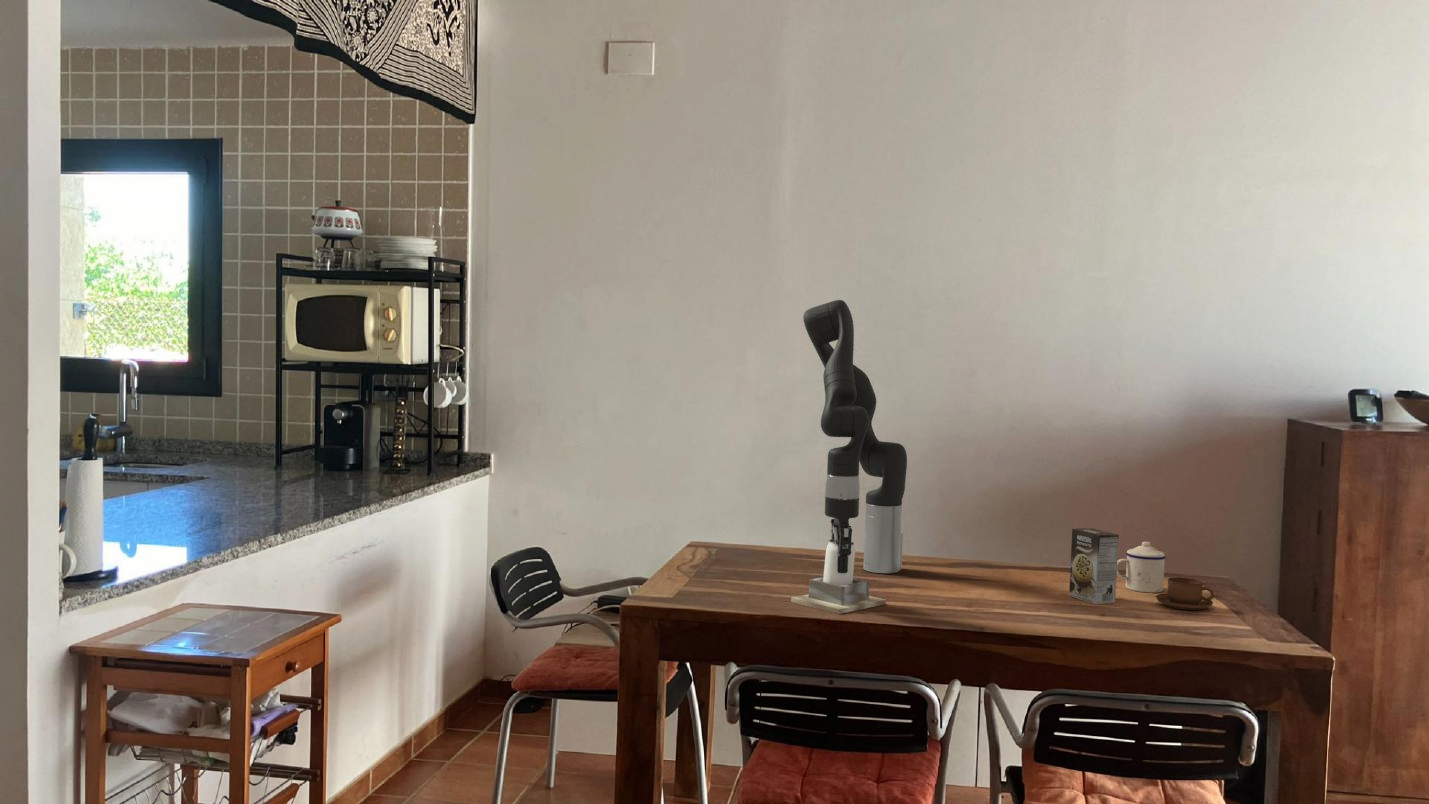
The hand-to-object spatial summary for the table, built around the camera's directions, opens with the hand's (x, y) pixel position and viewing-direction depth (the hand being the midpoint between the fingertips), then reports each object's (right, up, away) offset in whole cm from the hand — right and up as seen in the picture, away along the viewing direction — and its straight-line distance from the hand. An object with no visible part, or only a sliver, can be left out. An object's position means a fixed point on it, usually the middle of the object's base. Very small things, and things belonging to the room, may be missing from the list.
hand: (839, 569), depth 249 cm
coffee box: (+60, -9, +12) cm, 62 cm away
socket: (0, -8, 0) cm, 8 cm away
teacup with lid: (+76, -9, +25) cm, 81 cm away
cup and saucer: (+80, -10, +7) cm, 81 cm away
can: (-1, -6, 0) cm, 6 cm away
